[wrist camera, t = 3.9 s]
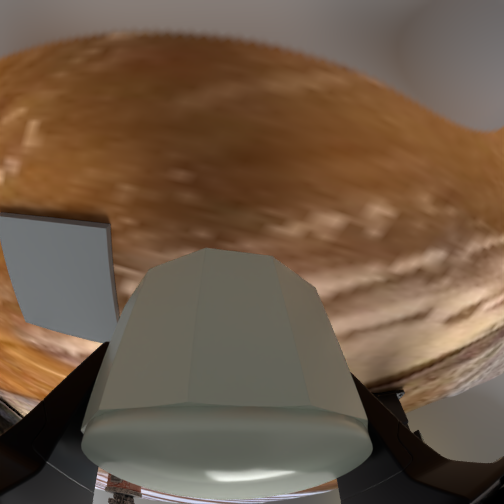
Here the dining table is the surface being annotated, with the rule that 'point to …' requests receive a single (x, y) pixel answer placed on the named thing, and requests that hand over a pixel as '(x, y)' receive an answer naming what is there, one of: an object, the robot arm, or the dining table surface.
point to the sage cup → (225, 384)
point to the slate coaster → (62, 274)
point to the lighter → (122, 490)
